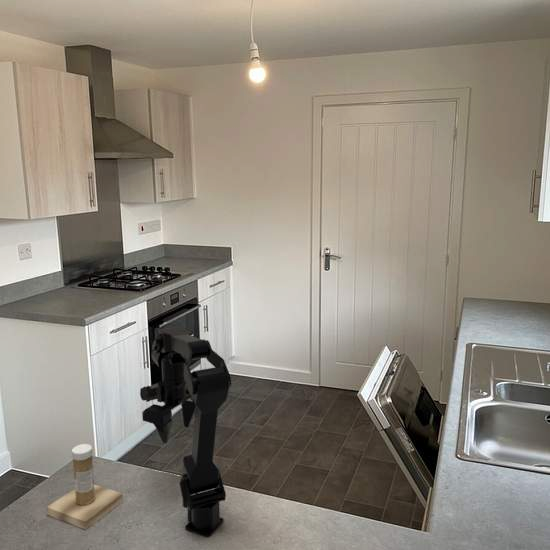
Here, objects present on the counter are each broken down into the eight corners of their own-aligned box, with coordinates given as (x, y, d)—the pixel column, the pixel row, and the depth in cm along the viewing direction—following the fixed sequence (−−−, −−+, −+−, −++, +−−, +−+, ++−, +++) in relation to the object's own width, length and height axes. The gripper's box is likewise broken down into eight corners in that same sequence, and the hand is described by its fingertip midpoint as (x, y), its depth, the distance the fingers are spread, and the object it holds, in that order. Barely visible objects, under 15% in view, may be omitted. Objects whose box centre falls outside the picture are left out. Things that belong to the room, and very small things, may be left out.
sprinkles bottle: (78, 495, 131) (74, 443, 128) (97, 494, 131) (94, 442, 129) (73, 506, 126) (69, 453, 124) (93, 505, 127) (89, 452, 124)
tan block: (122, 501, 132) (122, 493, 131) (85, 529, 121) (85, 521, 121) (86, 488, 137) (85, 481, 137) (47, 515, 126) (46, 507, 126)
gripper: (170, 360, 146) (172, 414, 149) (123, 384, 130) (126, 444, 133) (205, 366, 142) (206, 422, 145) (160, 392, 125) (163, 454, 128)
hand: (176, 434), depth 138 cm, fingers open, 9 cm apart
